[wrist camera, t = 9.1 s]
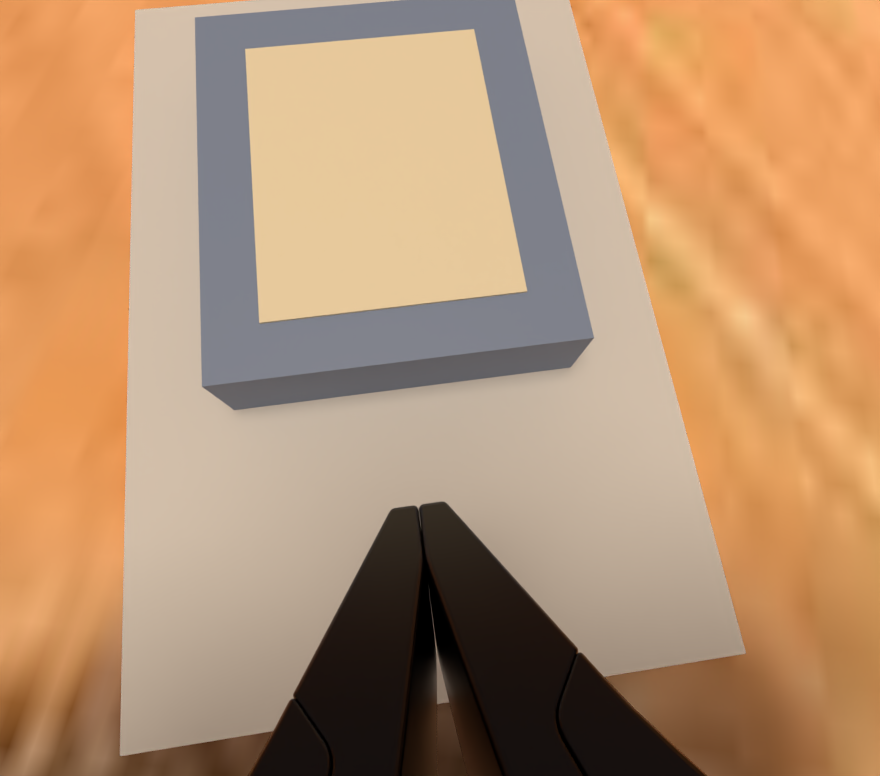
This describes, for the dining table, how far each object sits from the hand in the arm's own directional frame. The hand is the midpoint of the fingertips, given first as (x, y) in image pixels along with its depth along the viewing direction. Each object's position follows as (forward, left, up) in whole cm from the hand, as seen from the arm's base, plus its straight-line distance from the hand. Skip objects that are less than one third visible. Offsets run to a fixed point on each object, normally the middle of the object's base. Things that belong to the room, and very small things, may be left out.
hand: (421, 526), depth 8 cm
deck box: (+4, -2, -6) cm, 7 cm away
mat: (+7, -3, -7) cm, 11 cm away
